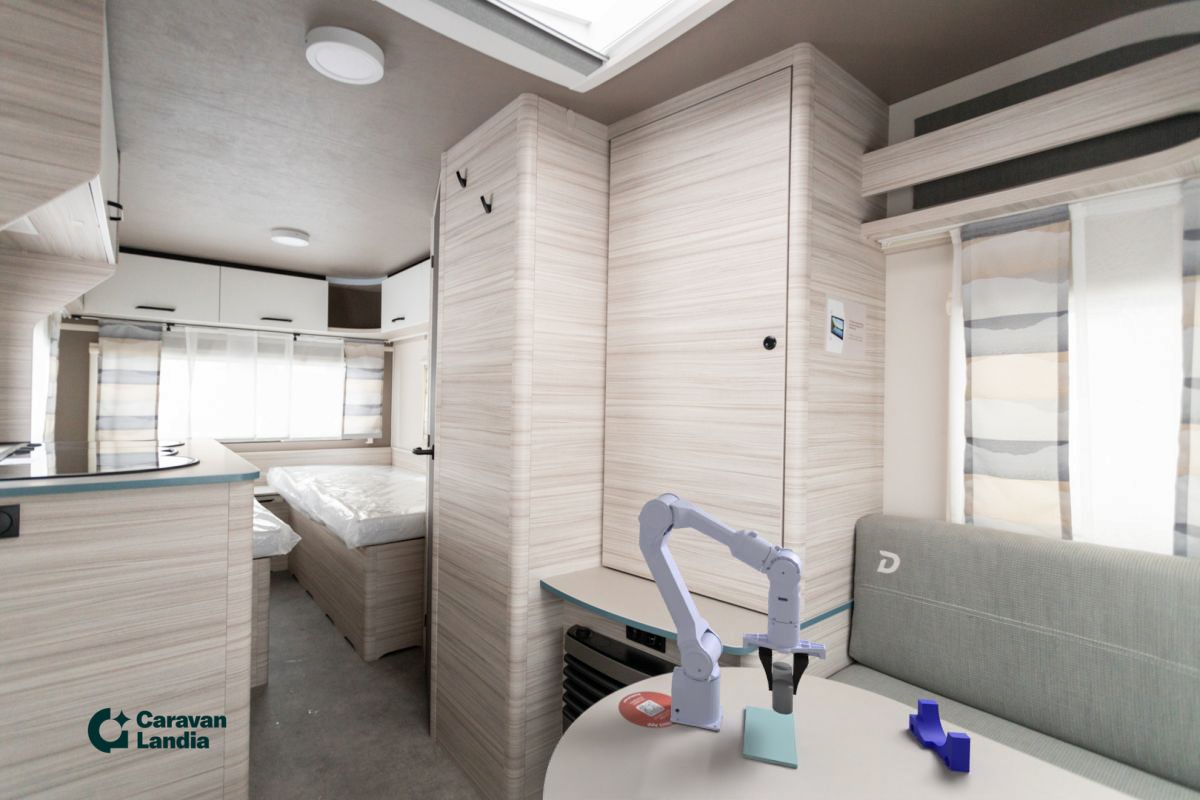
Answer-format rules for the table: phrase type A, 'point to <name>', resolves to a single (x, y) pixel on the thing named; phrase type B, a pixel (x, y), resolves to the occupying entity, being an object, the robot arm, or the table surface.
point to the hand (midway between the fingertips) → (782, 690)
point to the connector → (782, 688)
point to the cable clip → (940, 737)
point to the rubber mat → (770, 737)
